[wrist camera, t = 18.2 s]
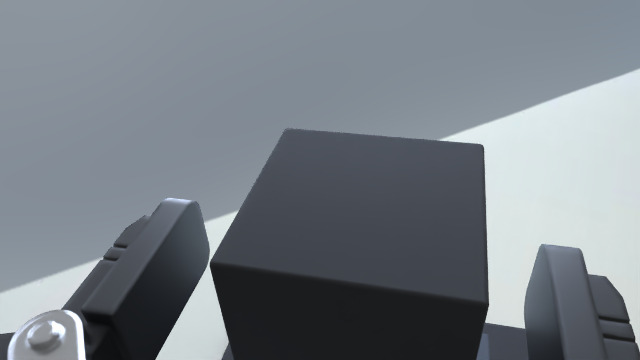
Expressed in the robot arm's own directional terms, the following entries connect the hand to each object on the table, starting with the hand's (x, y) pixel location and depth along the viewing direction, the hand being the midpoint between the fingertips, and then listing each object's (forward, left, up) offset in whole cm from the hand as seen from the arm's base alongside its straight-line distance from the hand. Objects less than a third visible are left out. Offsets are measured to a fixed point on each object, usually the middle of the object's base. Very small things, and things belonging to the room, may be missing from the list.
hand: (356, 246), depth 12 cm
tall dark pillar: (0, -1, -8) cm, 8 cm away
